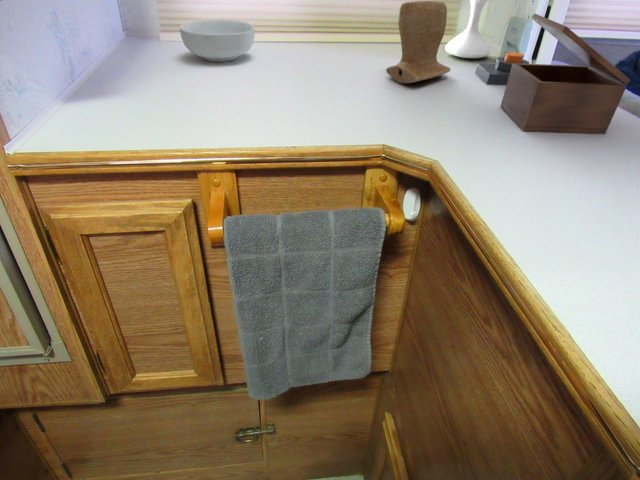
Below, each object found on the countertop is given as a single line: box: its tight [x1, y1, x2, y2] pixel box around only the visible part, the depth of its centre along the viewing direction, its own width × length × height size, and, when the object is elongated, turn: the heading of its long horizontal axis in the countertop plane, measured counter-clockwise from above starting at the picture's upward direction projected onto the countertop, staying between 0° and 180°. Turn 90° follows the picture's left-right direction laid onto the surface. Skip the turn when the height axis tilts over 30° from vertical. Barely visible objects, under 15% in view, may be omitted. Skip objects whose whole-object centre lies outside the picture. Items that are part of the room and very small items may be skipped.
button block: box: [474, 56, 530, 86], centre depth 93 cm, size 12×9×4 cm
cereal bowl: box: [179, 19, 255, 63], centre depth 100 cm, size 17×17×7 cm
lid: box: [530, 13, 631, 85], centre depth 67 cm, size 14×12×1 cm
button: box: [504, 51, 524, 63], centre depth 91 cm, size 4×4×2 cm
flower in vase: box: [444, 0, 492, 59], centre depth 104 cm, size 13×11×25 cm
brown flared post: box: [385, 0, 451, 84], centre depth 89 cm, size 15×12×15 cm
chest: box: [499, 63, 628, 135], centre depth 72 cm, size 14×12×8 cm
